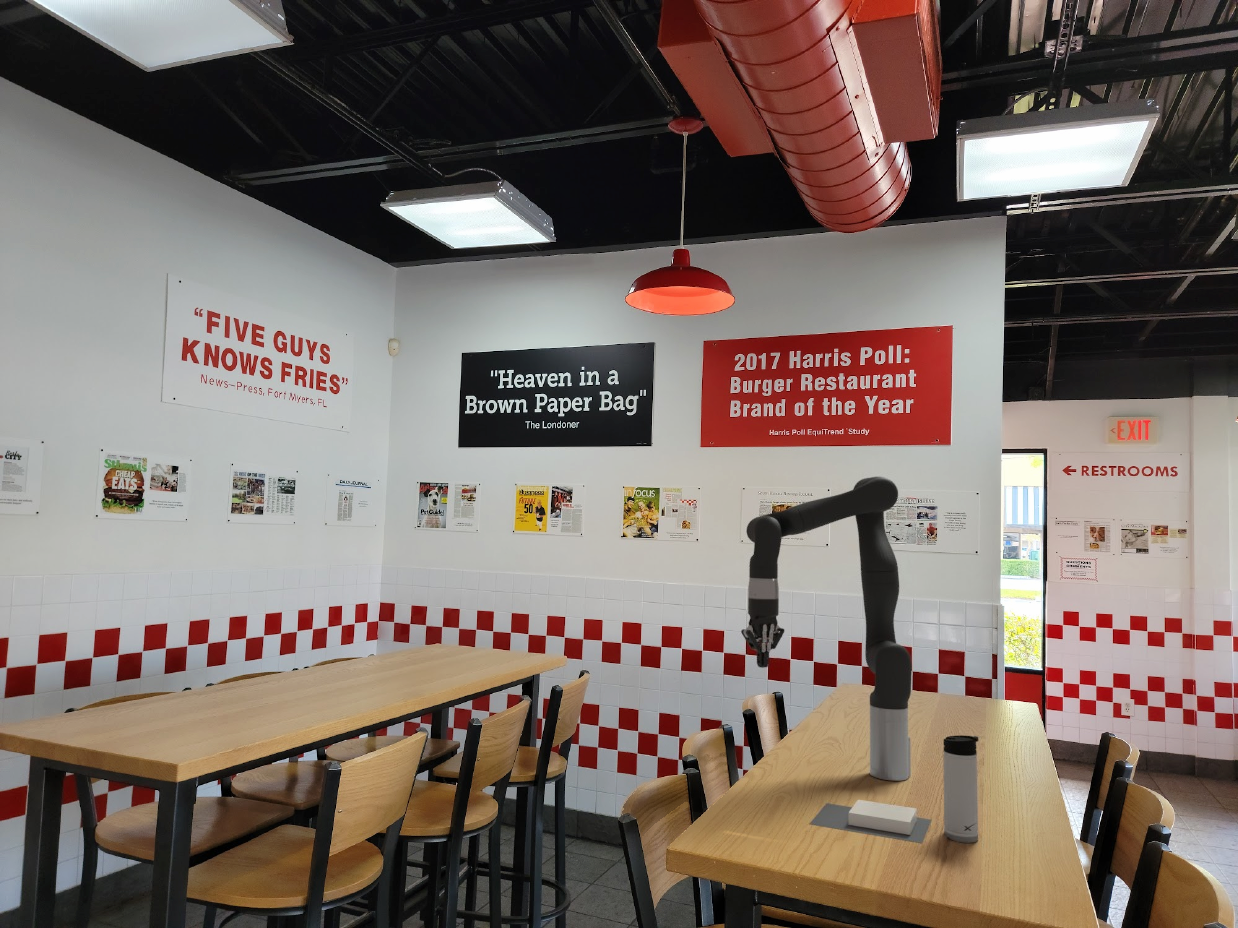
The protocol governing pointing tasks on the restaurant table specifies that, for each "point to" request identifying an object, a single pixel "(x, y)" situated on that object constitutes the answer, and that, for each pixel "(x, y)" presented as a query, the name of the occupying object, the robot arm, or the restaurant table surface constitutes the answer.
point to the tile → (883, 817)
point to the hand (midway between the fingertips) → (762, 666)
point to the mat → (839, 819)
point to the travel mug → (960, 788)
